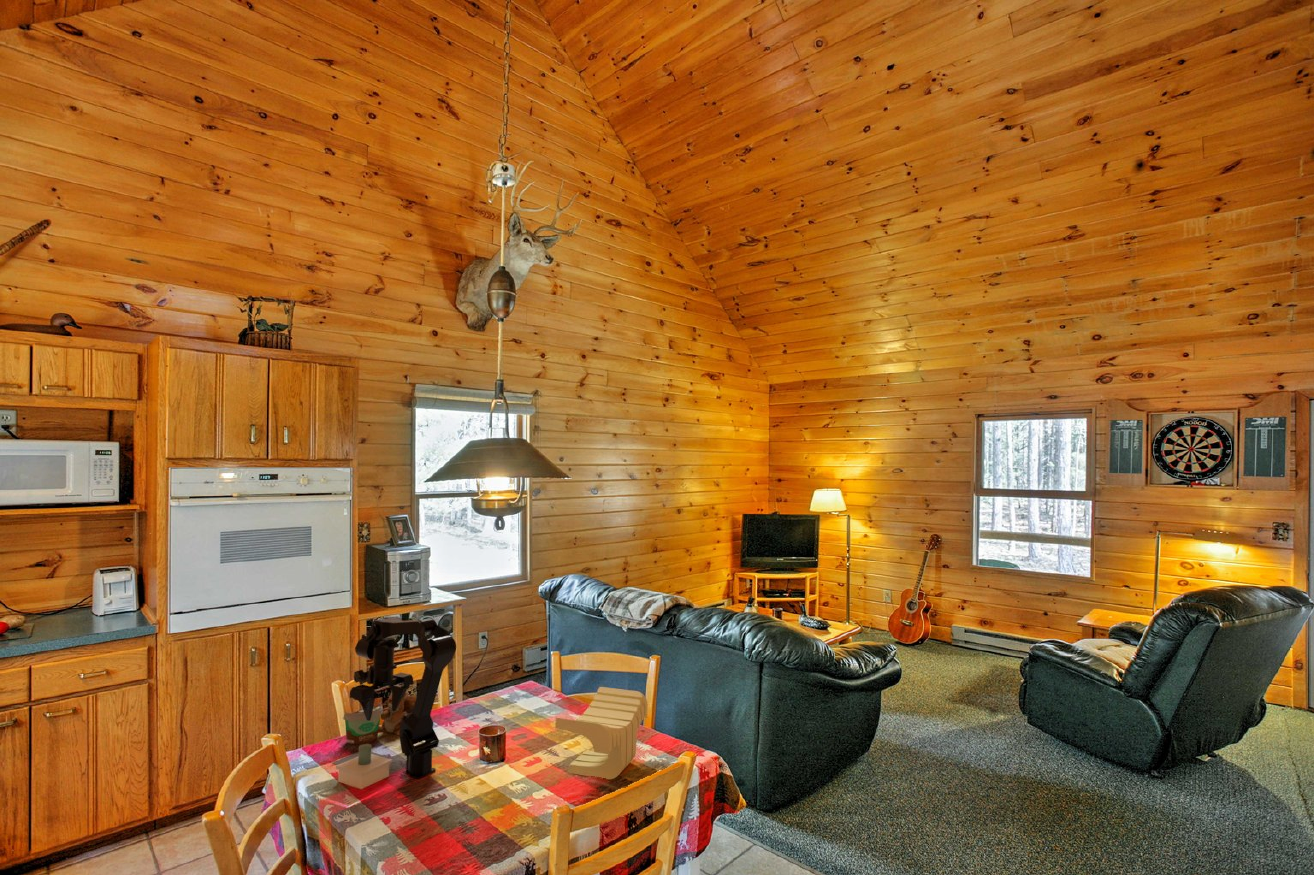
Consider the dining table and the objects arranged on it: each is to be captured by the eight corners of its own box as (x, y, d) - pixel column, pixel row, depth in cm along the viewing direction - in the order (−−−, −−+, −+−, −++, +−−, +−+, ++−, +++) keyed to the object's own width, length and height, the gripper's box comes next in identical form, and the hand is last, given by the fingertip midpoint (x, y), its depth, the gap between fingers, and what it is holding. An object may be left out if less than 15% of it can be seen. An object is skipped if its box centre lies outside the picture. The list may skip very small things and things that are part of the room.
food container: (352, 750, 205) (353, 716, 206) (341, 745, 209) (343, 712, 210) (390, 738, 215) (391, 706, 216) (379, 734, 219) (380, 702, 220)
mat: (389, 759, 200) (389, 757, 200) (357, 773, 190) (357, 770, 190) (363, 751, 205) (363, 749, 205) (331, 765, 195) (331, 762, 195)
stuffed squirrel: (370, 734, 219) (372, 692, 219) (402, 720, 232) (403, 680, 233) (395, 739, 215) (397, 696, 216) (425, 724, 228) (427, 684, 229)
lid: (392, 762, 188) (393, 743, 188) (361, 776, 179) (362, 756, 179) (367, 755, 192) (367, 736, 193) (335, 768, 183) (336, 748, 184)
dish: (388, 778, 187) (389, 763, 187) (361, 791, 179) (361, 775, 179) (366, 771, 191) (366, 756, 192) (338, 783, 183) (338, 768, 184)
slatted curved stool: (608, 794, 179) (609, 725, 180) (554, 785, 184) (555, 717, 186) (646, 752, 208) (647, 692, 209) (598, 744, 213) (599, 686, 214)
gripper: (389, 651, 215) (387, 702, 214) (337, 665, 198) (335, 720, 197) (415, 656, 209) (413, 708, 208) (364, 670, 193) (362, 727, 192)
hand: (381, 715), depth 202 cm, fingers open, 9 cm apart
